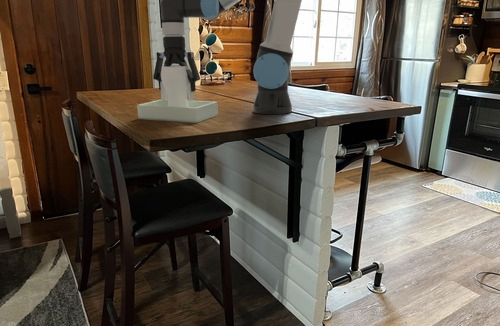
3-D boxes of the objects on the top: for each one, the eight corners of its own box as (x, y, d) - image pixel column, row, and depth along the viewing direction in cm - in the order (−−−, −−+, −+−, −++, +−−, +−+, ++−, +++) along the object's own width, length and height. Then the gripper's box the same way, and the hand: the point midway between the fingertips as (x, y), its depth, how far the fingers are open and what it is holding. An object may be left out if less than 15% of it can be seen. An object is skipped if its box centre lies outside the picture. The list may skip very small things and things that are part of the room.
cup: (186, 110, 134) (184, 66, 130) (158, 110, 136) (155, 66, 132) (196, 106, 144) (194, 65, 140) (170, 105, 146) (167, 65, 142)
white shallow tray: (217, 115, 144) (217, 101, 143) (197, 122, 130) (196, 108, 128) (163, 111, 153) (162, 99, 151) (138, 118, 138) (137, 105, 137)
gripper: (208, 35, 132) (210, 100, 139) (152, 36, 140) (156, 97, 147) (198, 35, 126) (201, 103, 132) (139, 36, 134) (144, 100, 140)
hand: (177, 100), depth 139 cm, fingers closed on cup, 10 cm apart
